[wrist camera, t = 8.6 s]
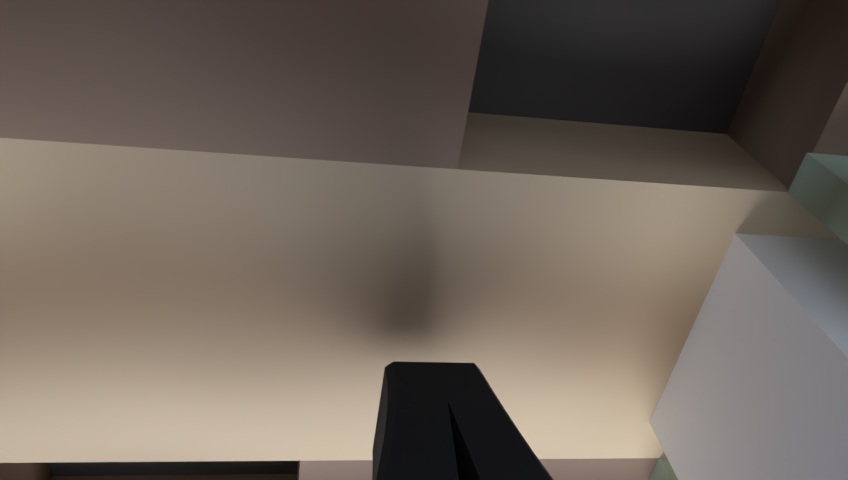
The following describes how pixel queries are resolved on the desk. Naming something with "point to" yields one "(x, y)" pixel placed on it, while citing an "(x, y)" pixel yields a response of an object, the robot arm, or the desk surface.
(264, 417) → the trap board
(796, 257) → the white block
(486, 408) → the robot arm
